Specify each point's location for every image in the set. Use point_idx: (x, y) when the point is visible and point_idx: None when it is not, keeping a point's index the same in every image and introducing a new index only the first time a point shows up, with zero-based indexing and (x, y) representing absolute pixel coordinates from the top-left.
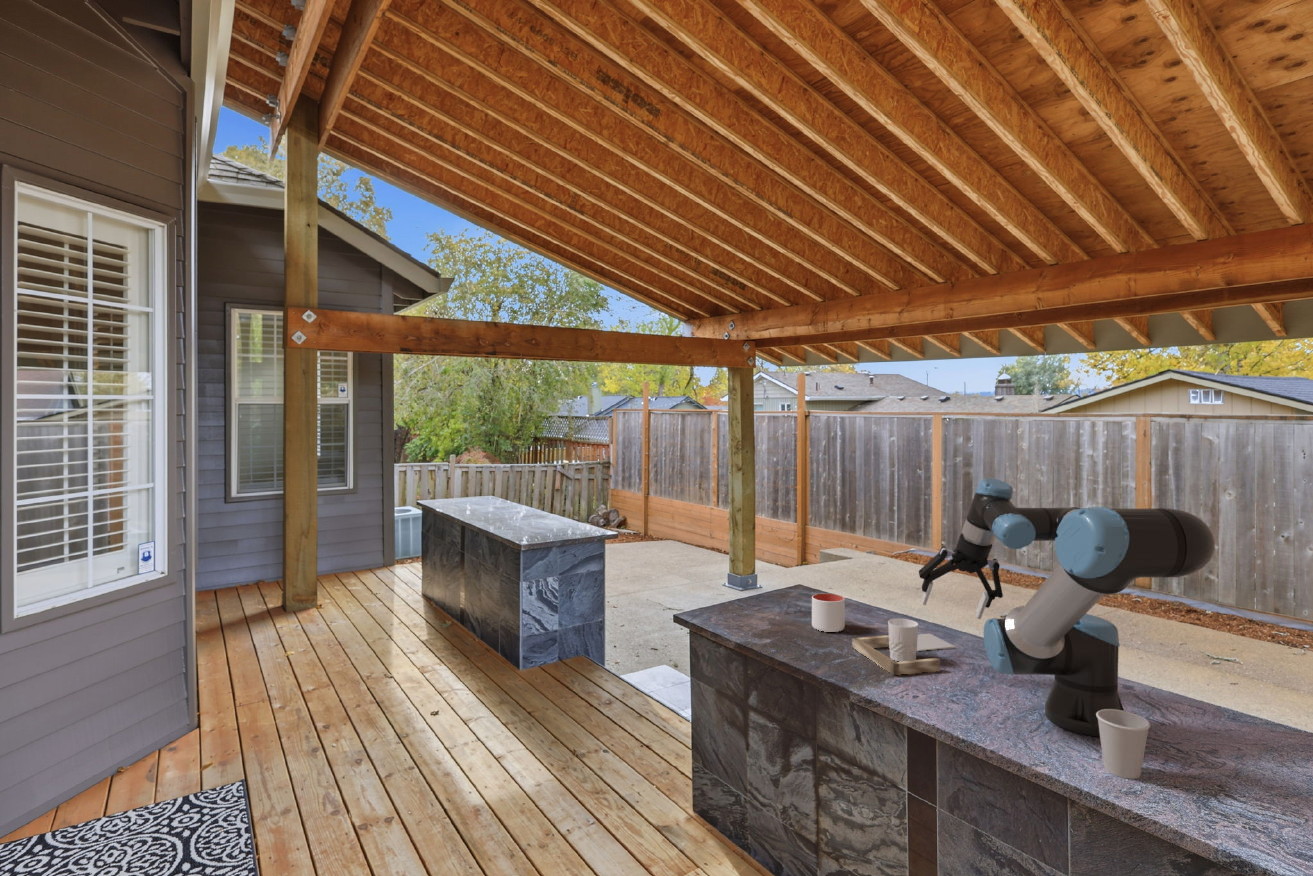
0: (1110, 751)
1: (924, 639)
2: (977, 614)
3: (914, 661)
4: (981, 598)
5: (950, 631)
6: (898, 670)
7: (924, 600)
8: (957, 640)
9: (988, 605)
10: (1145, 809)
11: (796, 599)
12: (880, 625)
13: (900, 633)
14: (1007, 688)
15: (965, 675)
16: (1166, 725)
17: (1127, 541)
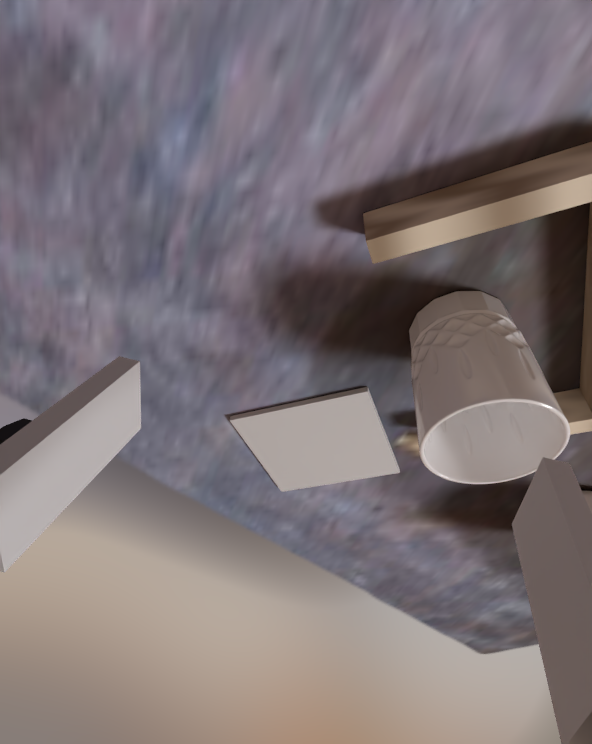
0: None
1: (312, 459)
2: (131, 394)
3: (508, 208)
4: (55, 509)
5: (215, 507)
6: None
7: (579, 491)
8: (209, 462)
9: (10, 433)
10: None
11: (528, 621)
12: (396, 529)
13: (532, 378)
14: (84, 6)
15: (261, 175)
16: None
17: None
